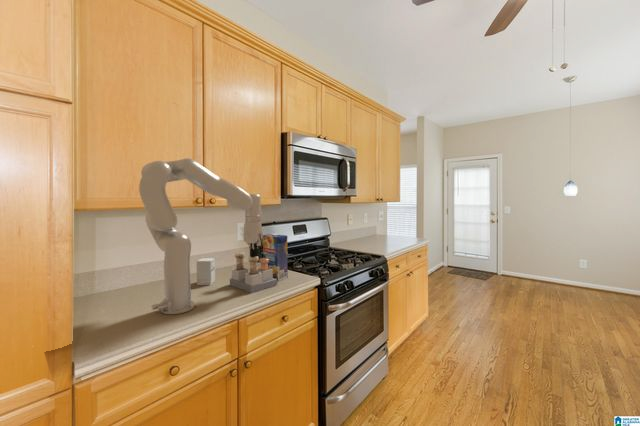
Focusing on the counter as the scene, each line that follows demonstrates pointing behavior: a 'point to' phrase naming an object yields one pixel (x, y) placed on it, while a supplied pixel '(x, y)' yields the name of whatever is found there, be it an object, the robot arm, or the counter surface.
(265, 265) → the terracotta plug
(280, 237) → the juice carton
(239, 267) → the beech plug far
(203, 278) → the supplement box
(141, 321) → the counter surface
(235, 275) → the board
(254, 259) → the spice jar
